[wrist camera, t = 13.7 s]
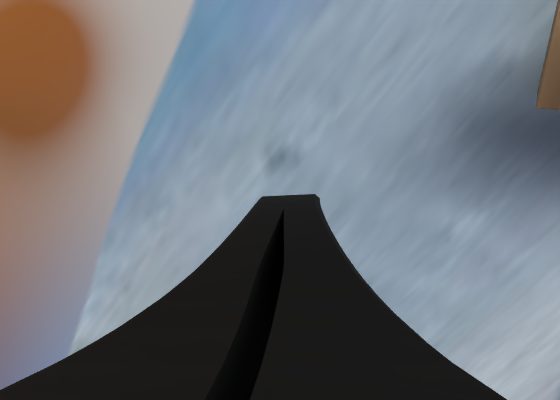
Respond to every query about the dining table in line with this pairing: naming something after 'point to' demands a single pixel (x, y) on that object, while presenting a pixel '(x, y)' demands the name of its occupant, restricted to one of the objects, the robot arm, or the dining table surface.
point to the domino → (551, 69)
